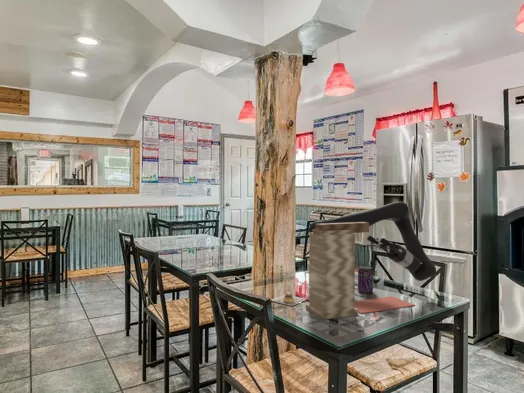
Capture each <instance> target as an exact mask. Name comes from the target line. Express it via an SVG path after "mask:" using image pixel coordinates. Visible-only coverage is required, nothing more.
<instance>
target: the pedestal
mask: <svg viewBox="0 0 524 393" xmlns="http://www.w3.org/2000/svg"><path fill="white" fill-rule="evenodd" d="M308 236H309V240H308V242H309V252H308V253H309V260H308V263H309V264H308V286H309V288H308V292H309V293H308V299H309V300H308V303H306V304H305V309H306V310H308V311H309V312H311V313H312V314H313V315H315V316H317V317H319V318H320V319H321V320H322V319H323V320H329V319H337V318H341V317H349V316H356V315H359V313H358V309H356V308H355V301H356V300H355V299H356V298H355V297H356V294H355V293H356V292H355V290H356V285H355V284H356V283H355V282H356V281H355V280H356V272H355V271H356V233H351V230H332V231H320V234H315V230H313V232H311V233H309V234H308Z"/></svg>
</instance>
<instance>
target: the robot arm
mask: <svg viewBox="0 0 524 393" xmlns="http://www.w3.org/2000/svg"><path fill="white" fill-rule="evenodd" d="M386 220H392V222H393V223H394V224H395V226H396V228H397V229H398V231H399V233H400V235H401V238H402V241H403V244H404V247H403V246H402V245H401V244H400V243H396V242H391V241H389V240H387V239H386V238H385V237H381V238H380V240H378V239H377V238H375V237H373V236H372V235H368V236H367V238H366V239H367V241H368V242H370V245H372V246H374V247H375V248H376V249H378V250H382V251H383V252H384V253H386V256H387V258H388V259H389V260H391V261H393V262H394V263H396V264H397V265H398V266H401V267H402V268H404V269H406V270H407V271H408V272H409V273H410V274H411V276H412V277H413V278H414V280H416V281H417V282H418V281H419V282H423V281H425V280H428V279H430V278H433V277H434V276H436V275H437V268H436V267H437V266H435V264H434V263H433V262H432V260H430V258H429V257H428V255H427V254H426V252H425V250H424V248H423V246H422V243H421V241H420V239H419V238H418V236H417V234H416V232H415V231H414V229H413V225H412V224H411V218H410V209H409V206H408V204H407V203H405V202H404V201H394V202H391V203H388V204H385V205H382V206H378V207H374V208H370V209H366V210H365V209H364V210H361V211H355V212H350V213H348V214H344V215H341V216H340V217H336V218H334V219H329V220H315V221H313V222H312V223H310V225H309V228H308V233H309V234H310V233H311V232H313V230H315V224H322V223H349V222H367V223H369V228H370V227H371V226H374V225H375V224H377V223H379V222H382V221H386Z"/></svg>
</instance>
